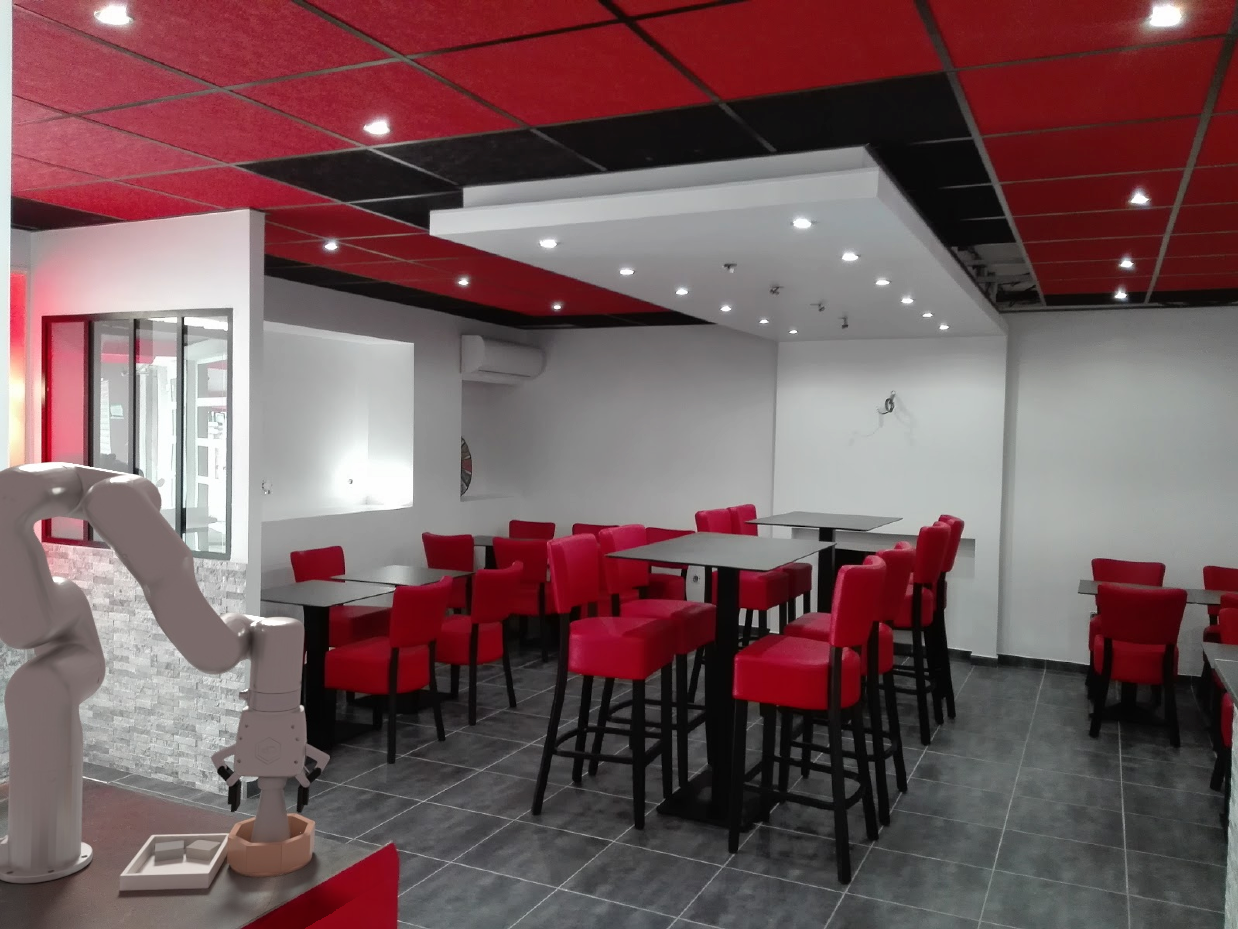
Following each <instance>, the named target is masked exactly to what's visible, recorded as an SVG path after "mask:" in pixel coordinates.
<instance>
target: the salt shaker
mask: <svg viewBox="0 0 1238 929" xmlns="http://www.w3.org/2000/svg"><path fill="white" fill-rule="evenodd" d="M287 781H288V777H257V787H258V788H259V789H260V795H259V799H258V803H257V804H258V805H257V809H256V814H255V817H256V818H255V823H254V827H253V832H252V837H251V841H250V843H273V842H282V841H285V840H288V839H290V830H289V824H288V817H287V814H288V812H287V805H286V799H285V798H286V797H285V792H284V788H285V786H286V785H287Z"/></svg>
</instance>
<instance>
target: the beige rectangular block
mask: <svg viewBox="0 0 1238 929" xmlns="http://www.w3.org/2000/svg"><path fill="white" fill-rule="evenodd" d="M220 846H221V842H213V841H206V840H197V841H195V842H193V843H192V844H190V845H189V846H187V847H186V858H192V859H200V860H207V861H210V860H211V859H212V858H214V856H215V855H216V853H217V851H218V850H219V848H220Z"/></svg>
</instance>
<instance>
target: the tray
mask: <svg viewBox="0 0 1238 929" xmlns="http://www.w3.org/2000/svg"><path fill="white" fill-rule="evenodd" d="M229 833H230V832H229ZM229 833H223V832H221V833H220V832H219V833H189V834H188V833H187V834H186V833H185V834H179V833H178V834H176V833H175V834H151V835H150V836H149V838H148V839H147V840H146V842H145V843H144V844H143V846H142V847H141V848H140V850H139V851H138V852H137V854H135V855H134V857H133V858H132V860H131V861H130V862H129V863H128V864H127V866H126V867H125V869H124V870H123V871H122V872H121V873H120V875H119V891H120V892H121V891H124V892H125V891H147V890H148V891H151V890H152V891H153V890H159V891H160V890H182V889H183V890H184V889H185V890H186V889H188V890H190V889H209V887H210V886H211V884H212V883H213V880H214V878H216V875H217V873H218V872H219V869H220V868H221V866H222V864H224V862H225V859H227V841H228V835H229ZM181 840H184V855H183V858H181V859H173V860H165V861H157V862H155V844H156V843H164V842H172V841H181ZM197 840H206V841H213V842H221V846H220V848H219V850H218V851H217V853H216V855H215V856H214V858H212V859H211V860H210V861H207V860H200V859H192V858H186V847H187V846H189V845H190V844H192V843H193V842H195V841H197Z"/></svg>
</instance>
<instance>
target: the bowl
mask: <svg viewBox="0 0 1238 929" xmlns="http://www.w3.org/2000/svg"><path fill="white" fill-rule="evenodd" d="M287 817H288V824H289V830H290V839H288V840H285V841H282V842H273V843H250V841H251V837H252V832H253V827H254V823H255V818H256V816H253V817H250V818H248V819H244V820H241V821H238V822H236V823H234V825H233V826H232V829H231V830H230V832H229V835H228V841H227V856H226V863H227V864H228V865H229V867H230V869H231V870H232V872H234V873H236V874H238V875H241V876H244V877H245V876H246V877H252V878H253V877H254V878H268V877H270V878H271V877H277V876H283V875H287V874H290V873H293V872H295V871H298V870H301V869H302V868H304V867H305V866H307V865H308V864H309V863H310V862H311V860H312V859H313V852H314V848H315V839H316V838H315V836H316V835H315V834H316V821H314V820H313V819H310V818H308V817H305V816H304V815H301V814H300V813H296V812H295V813H293V812H292V813H290V812H289V813H287ZM300 832H301V833H300Z"/></svg>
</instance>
